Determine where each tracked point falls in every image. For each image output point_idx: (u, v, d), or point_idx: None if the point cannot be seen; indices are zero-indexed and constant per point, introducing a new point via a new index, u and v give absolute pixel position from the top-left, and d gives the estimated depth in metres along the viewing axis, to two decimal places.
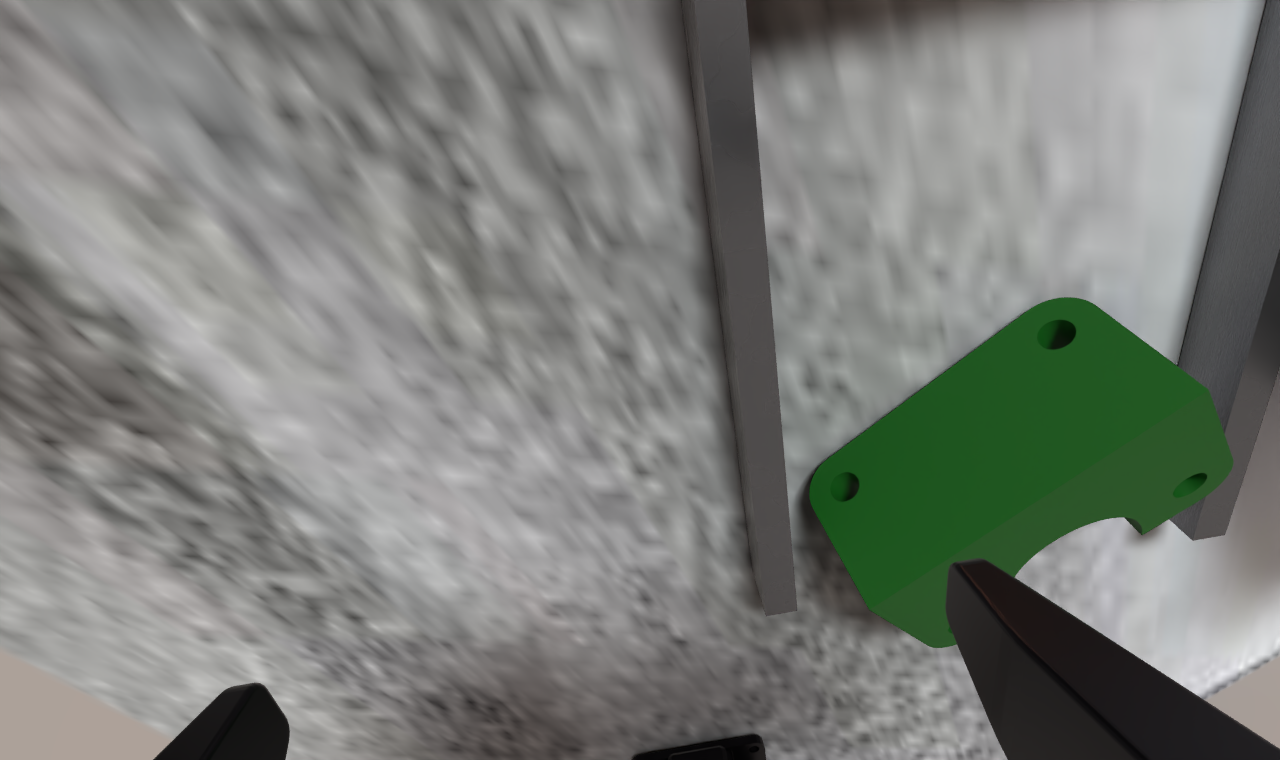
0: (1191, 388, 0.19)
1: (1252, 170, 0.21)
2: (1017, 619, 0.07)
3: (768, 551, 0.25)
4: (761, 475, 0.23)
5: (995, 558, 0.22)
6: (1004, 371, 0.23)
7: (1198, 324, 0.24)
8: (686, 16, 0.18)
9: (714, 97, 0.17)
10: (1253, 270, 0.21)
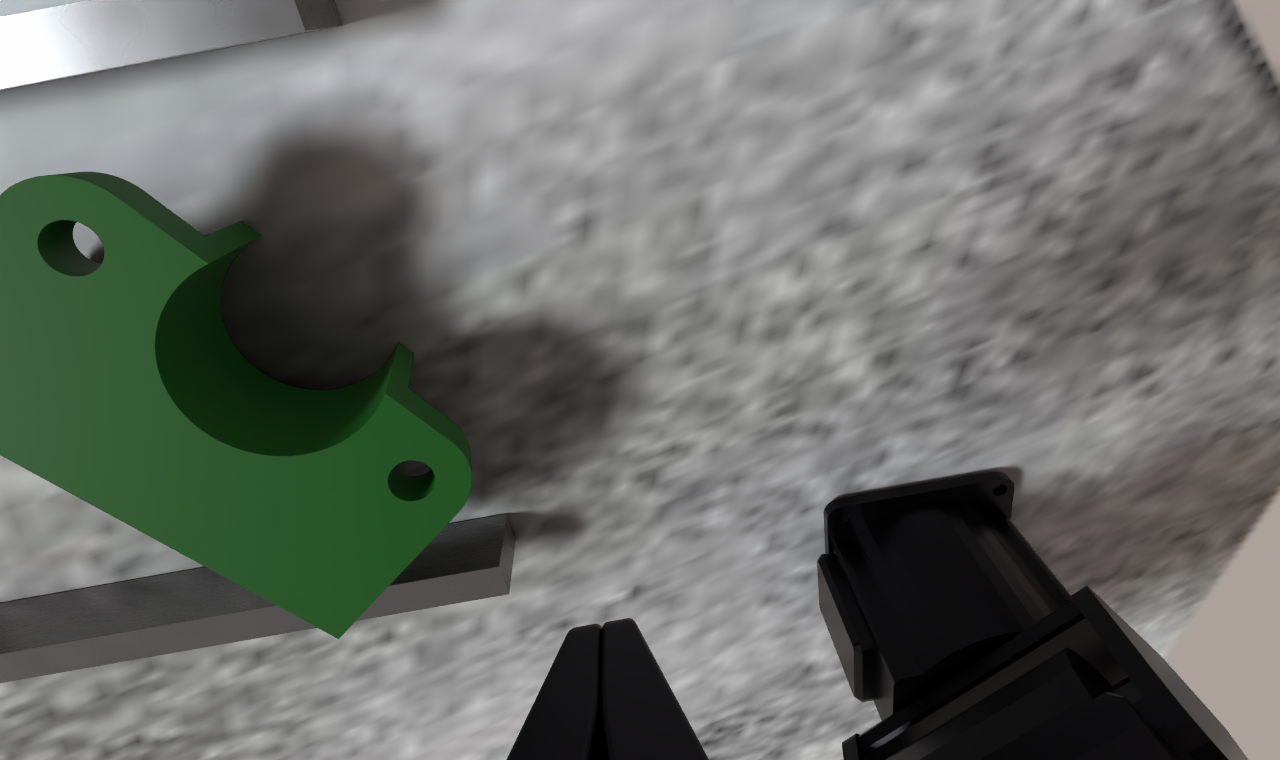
0: None
1: None
2: (614, 688, 0.08)
3: (404, 603, 0.22)
4: (297, 622, 0.22)
5: (242, 512, 0.16)
6: None
7: None
8: None
9: None
10: None
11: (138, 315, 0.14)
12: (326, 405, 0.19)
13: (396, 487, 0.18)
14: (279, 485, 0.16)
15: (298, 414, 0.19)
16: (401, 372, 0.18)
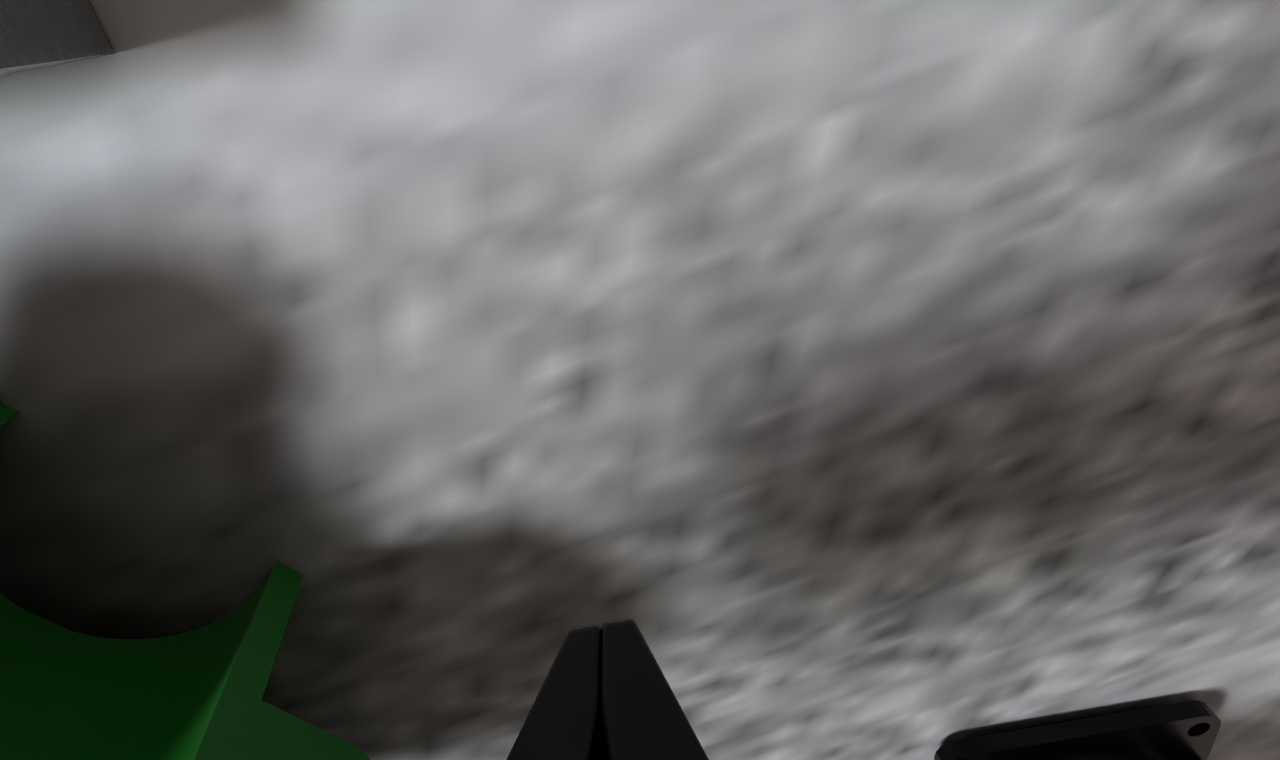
0: None
1: None
2: (614, 688, 0.08)
3: None
4: None
5: None
6: None
7: None
8: None
9: None
10: None
11: None
12: (143, 688, 0.11)
13: None
14: None
15: (81, 724, 0.11)
16: (257, 656, 0.11)
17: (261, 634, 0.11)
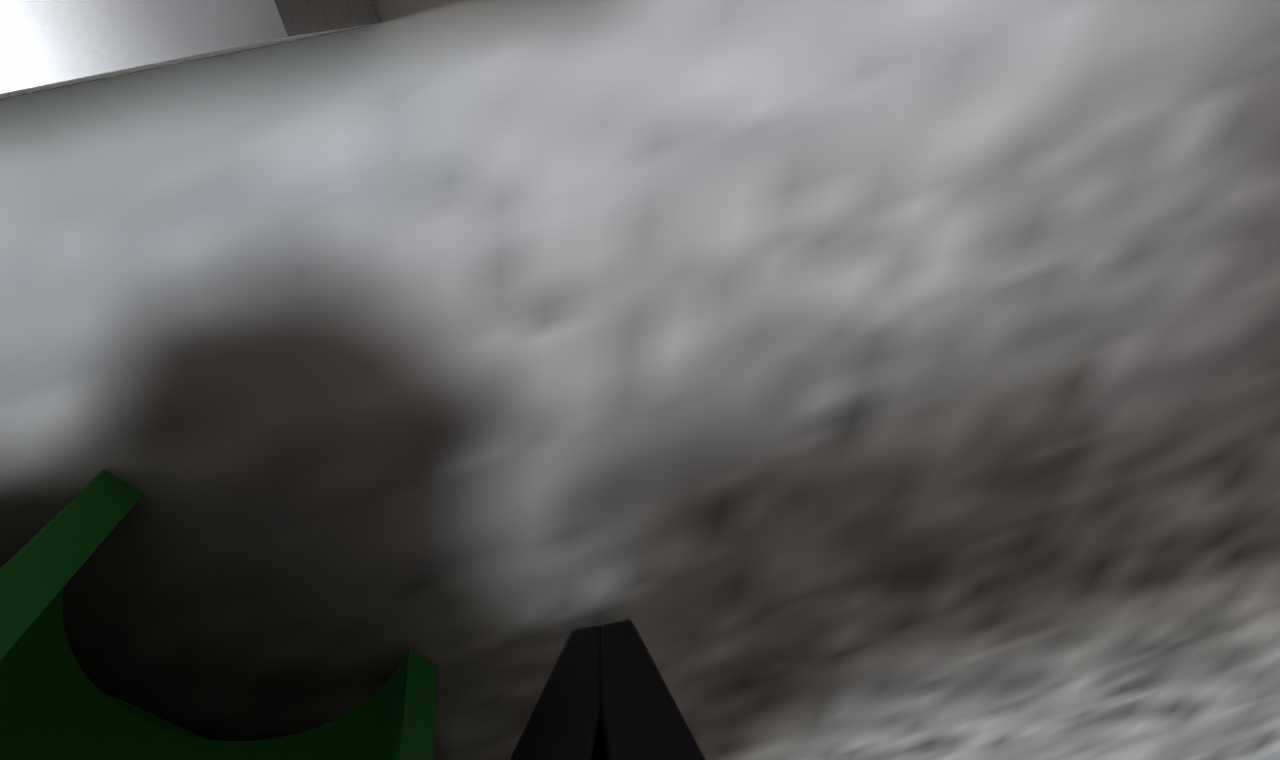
0: None
1: None
2: (611, 688, 0.08)
3: None
4: None
5: None
6: None
7: None
8: None
9: None
10: None
11: None
12: None
13: None
14: None
15: None
16: None
17: (414, 754, 0.09)
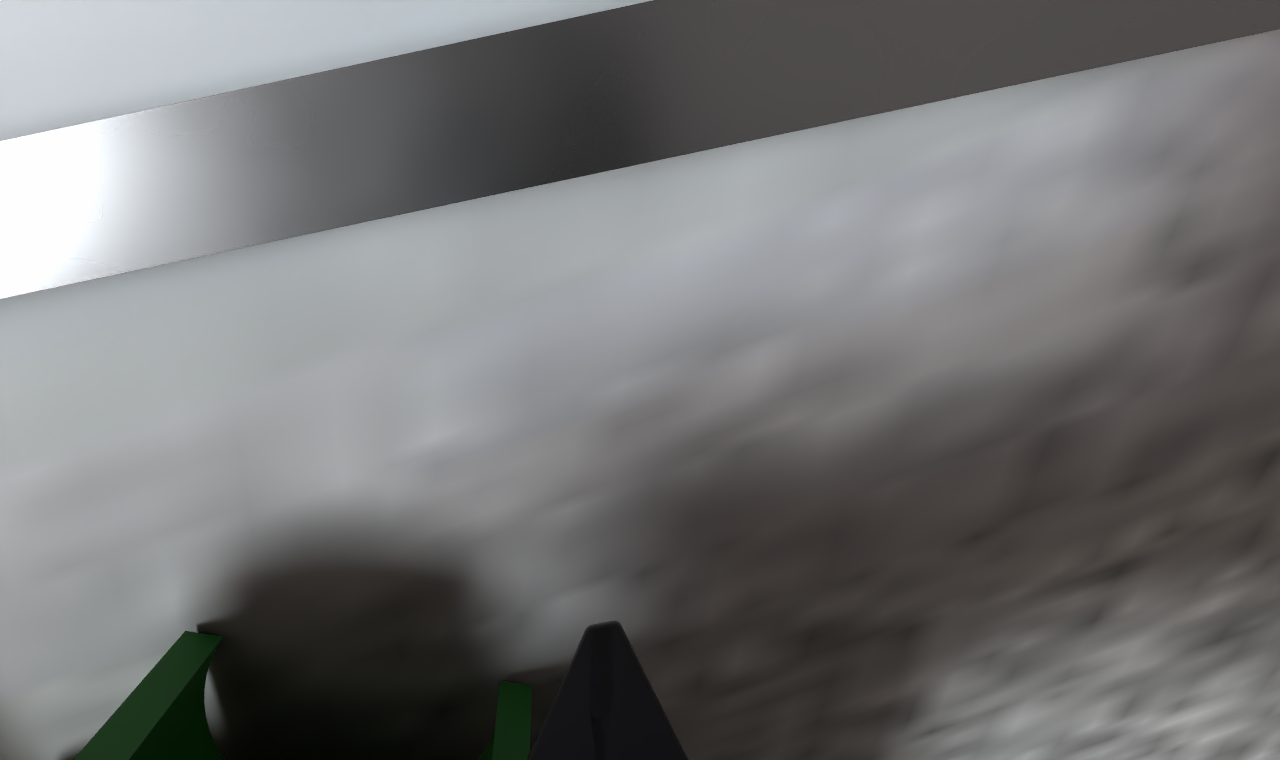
0: None
1: None
2: (597, 690, 0.08)
3: None
4: None
5: None
6: None
7: None
8: None
9: None
10: None
11: None
12: None
13: None
14: None
15: None
16: None
17: None
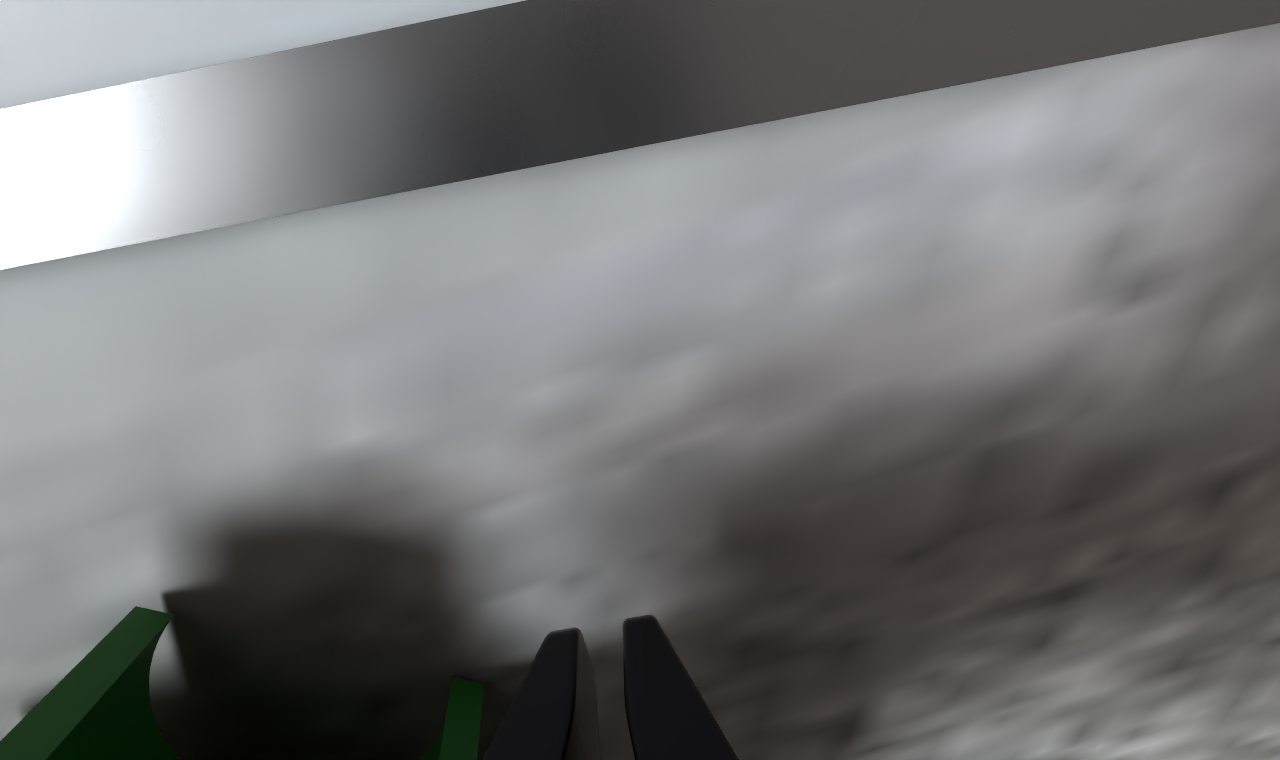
0: None
1: None
2: (638, 684, 0.08)
3: None
4: None
5: None
6: None
7: None
8: None
9: None
10: None
11: None
12: None
13: None
14: None
15: None
16: None
17: None
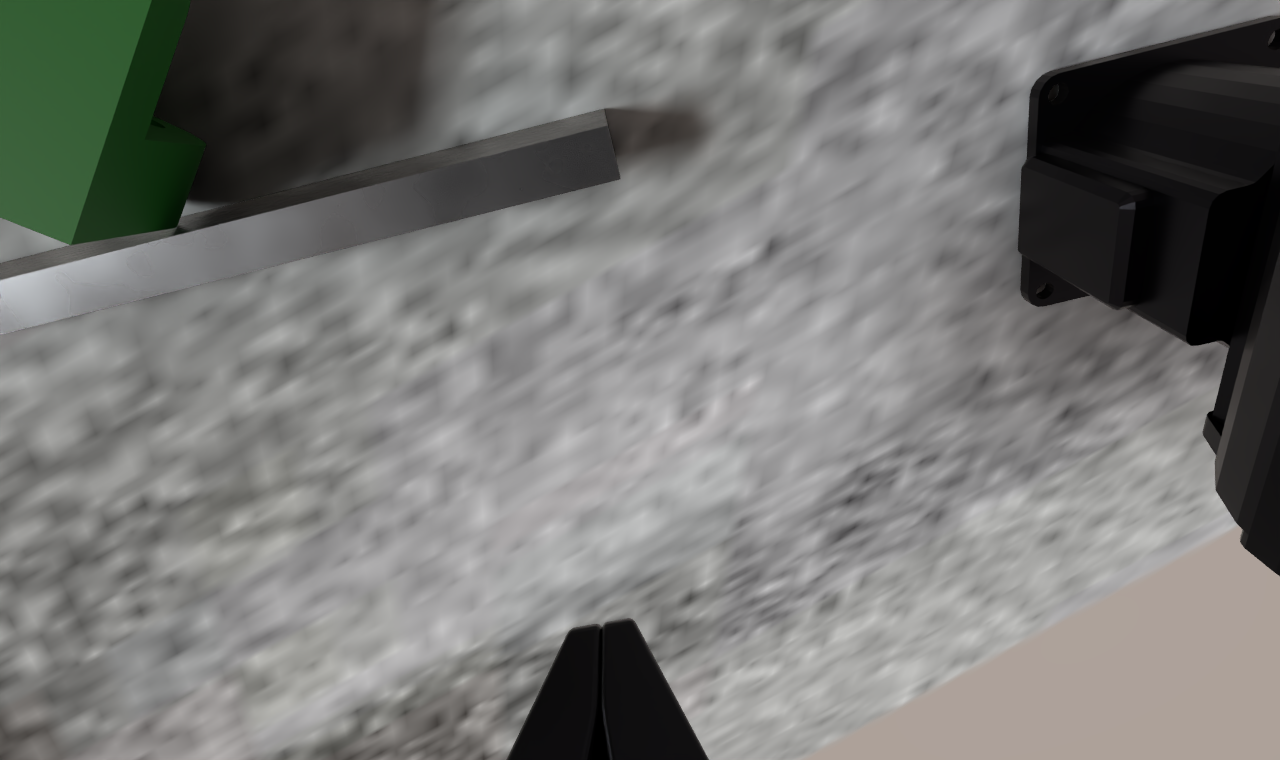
0: None
1: None
2: (614, 688, 0.08)
3: (478, 198, 0.16)
4: (334, 234, 0.16)
5: None
6: None
7: None
8: None
9: None
10: None
11: None
12: None
13: None
14: None
15: None
16: None
17: None
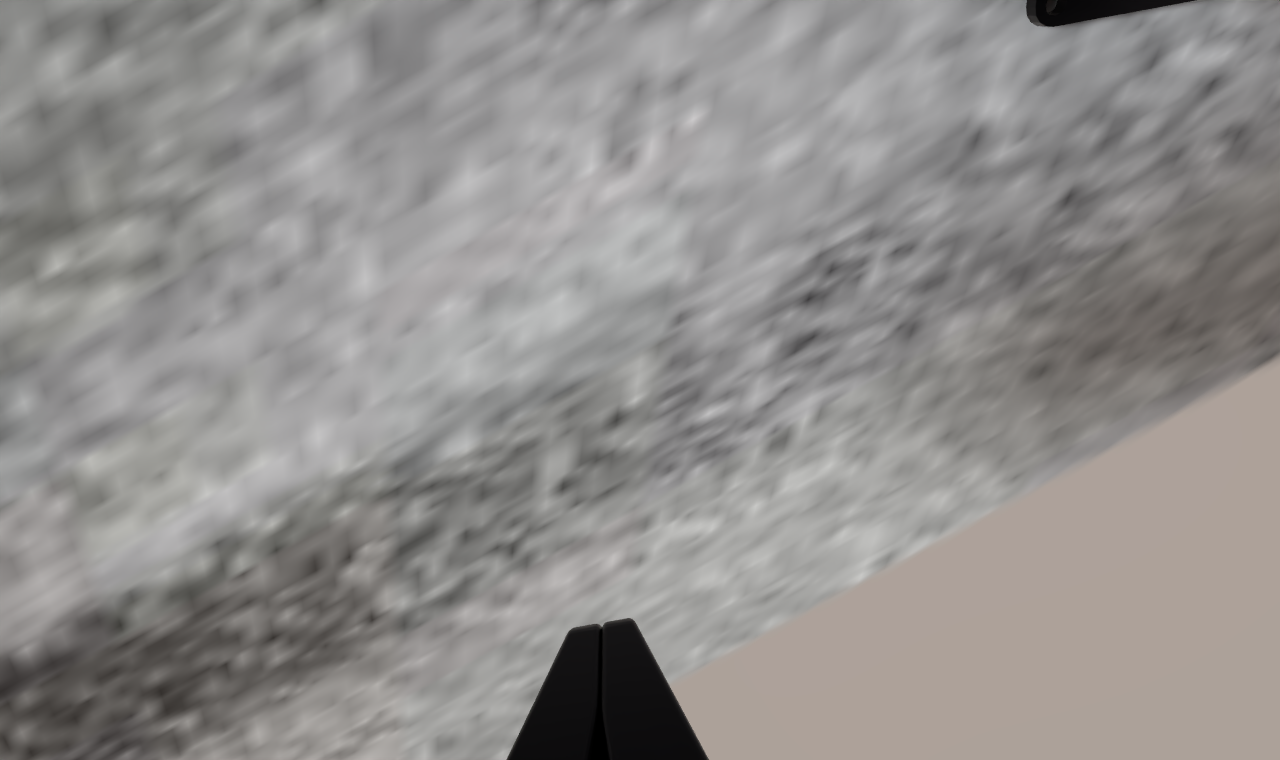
0: None
1: None
2: (614, 688, 0.08)
3: None
4: None
5: None
6: None
7: None
8: None
9: None
10: None
11: None
12: None
13: None
14: None
15: None
16: None
17: None
